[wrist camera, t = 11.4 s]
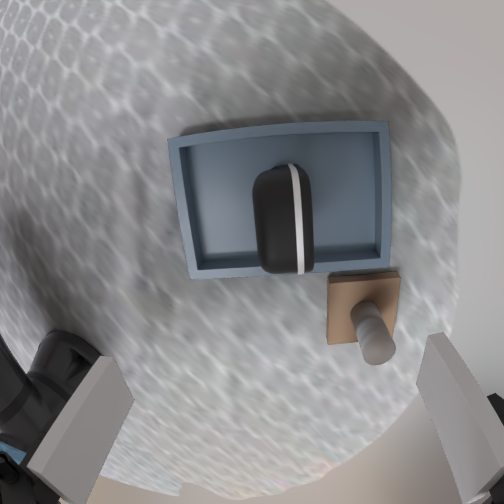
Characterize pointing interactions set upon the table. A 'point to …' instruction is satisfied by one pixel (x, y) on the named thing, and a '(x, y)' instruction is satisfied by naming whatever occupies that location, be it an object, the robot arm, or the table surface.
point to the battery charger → (284, 220)
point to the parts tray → (322, 189)
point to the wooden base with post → (364, 313)
